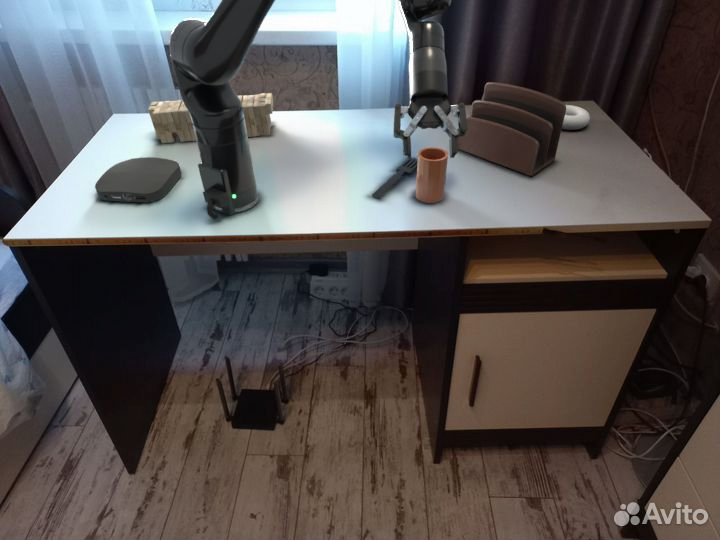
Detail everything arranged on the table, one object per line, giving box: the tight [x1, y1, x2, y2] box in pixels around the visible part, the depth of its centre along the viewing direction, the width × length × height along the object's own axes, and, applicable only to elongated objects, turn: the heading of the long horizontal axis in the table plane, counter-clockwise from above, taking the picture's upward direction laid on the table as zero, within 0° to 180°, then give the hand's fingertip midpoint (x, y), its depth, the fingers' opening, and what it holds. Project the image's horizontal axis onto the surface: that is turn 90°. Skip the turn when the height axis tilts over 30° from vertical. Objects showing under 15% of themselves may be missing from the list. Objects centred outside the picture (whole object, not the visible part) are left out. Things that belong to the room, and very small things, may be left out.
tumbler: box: [415, 146, 449, 204], centre depth 99 cm, size 6×6×9 cm
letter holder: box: [457, 81, 567, 177], centre depth 110 cm, size 10×20×14 cm, turn 45°
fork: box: [371, 156, 418, 200], centre depth 107 cm, size 18×3×1 cm, turn 149°
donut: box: [562, 104, 591, 131], centre depth 125 cm, size 10×4×10 cm
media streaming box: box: [94, 156, 182, 203], centre depth 106 cm, size 15×15×3 cm
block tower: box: [147, 92, 274, 144], centre depth 124 cm, size 8×8×29 cm
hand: (430, 157), depth 99 cm, fingers open, 8 cm apart
